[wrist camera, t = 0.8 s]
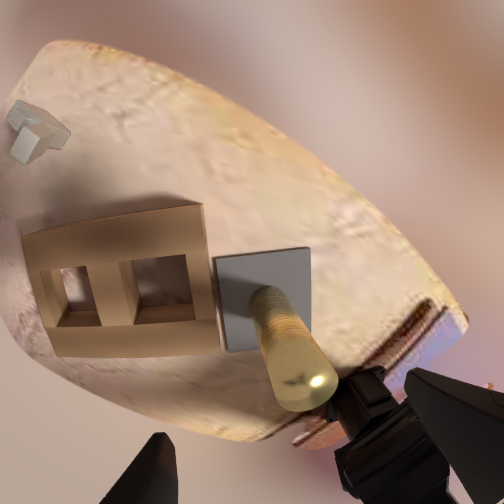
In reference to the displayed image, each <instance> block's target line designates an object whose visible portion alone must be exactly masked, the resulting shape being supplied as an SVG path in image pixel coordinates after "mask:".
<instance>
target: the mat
mask: <svg viewBox="0 0 504 504" xmlns="http://www.w3.org/2000/svg"><path fill="white" fill-rule="evenodd" d="M216 265H217V273H218V281H219V288H220V296H221V303H222V310H223V317H224V324H225V331H226V338H227V344H228V351H229V353H231V352H239V351H247V350H254V349H261V348H260V345H259V341H258V338H257V335H256V331H255V328H254V325H253V321H252V318H251V314H250V311H249V300H250V297H251V296H252V294H253V293H254V292H255V291H256V290H258V289H259V288H262V287H265V286H274V287H277V288H279V289H281V290H282V291H283V292H284V294H285V295H286V297H287V298H288V300H289V301H290V303H291V304H292V306H293V307H294V309H295V310H296V312H297V314H298V315H299V317H300V318H301V320H302V321H303V323H304V324H305V326H306V327H307V329H308V330H309V332H310V333H311V255H310V248H302V249H293V250H284V251H276V252H267V253H258V254H249V255H241V256H232V257H223V258H216Z"/></svg>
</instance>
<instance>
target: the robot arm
mask: <svg viewBox="0 0 504 504" xmlns="http://www.w3.org/2000/svg"><path fill="white" fill-rule="evenodd" d="M385 373H386V369H385V368H384V367H379V368H376V369H373V370H370V371H367V372H364V373H360V374H357V375H354V376H350V377H347V378H343V379H340V380H338V386H337V388H336V390H335V392H334V394H333V395H332V396H331V397H330V398H329V399H328V406H327V413H326V421H327V423H331V422H335V421H338V420H339V422H340V424H341V426H342V427H343V429H344V431H345V433H346V435H347V437H348V438H349V440H350V442H349V443H348V444H346V445H345V446H343V447H341V448H340V449H337V450H335V451H334V453H335V457H336V458H335V460H336V464H337V468H338V472H339V476H340V480H341V484H342V488H343V490H344V491H346V492H349V493H350V494H351V495H352V496H353V497H354V498H356V499H361V501H362V502H363V503H364V504H459V503H458V501H457V500H456V499H455V497H454V496H453V495H452V493H451V492H450V491H449V489H448V485H449V476H450V465H451V467H452V468H453V470H454V471H455V473H456V475H457V476H458V478H459V480H460V481H461V483H462V484H463V486H464V488H465V490H466V491H467V493H468V494H469V496H470V498H471V499H472V501H473V503H474V504H496V503H498V502H499V501H500V500H502V499H503V498H504V393H501V392H497V391H494V390H489V389H486V388H483V387H479V386H475V385H472V384H469V383H465V382H462V381H459V380H456V379H452V378H449V377H446V376H443V375H440V374H437V373H434V372H430V371H427V370H424V369H421V368H418V367H415V368H413V369H411V370H409V371H408V372H407V375H406V379H405V383H404V390H405V392H406V394H407V396H408V397H407V398H405V399H404V401H403V402H402V403H401V404H400V405H399V403H398V402H397V401H396V400H395V398H394V397H393V396H392V393H391V392H390V390H389V389H388V388H387V387H386V386H385V384H384V383H383V382H384V378H385ZM449 464H450V465H449ZM99 504H178V476H177V467H176V455H175V447H174V445H173V443H172V441H171V440H170V438H169V437H168V435H167V434H166V433H165V432H156V433H154V434H153V435H152V436H151V438H150V439H149V440H148V442H147V443H146V444H145V446H144V447H143V448H142V450H141V451H140V452H139V453H138V455H137V456H136V457H135V459H134V460H133V461H132V462H131V464H130V465H129V466H128V468H127V469H126V470H125V472H124V473H123V474H122V475H121V477H120V478H119V479H118V480H117V482H116V483H115V484H114V486H113V487H112V488H111V489H110V491H109V492H108V493H107V494H106V497H104V498H103V499H102V500H101V502H100V503H99ZM503 504H504V503H503Z"/></svg>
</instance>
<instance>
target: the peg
mask: <svg viewBox="0 0 504 504" xmlns="http://www.w3.org/2000/svg"><path fill="white" fill-rule="evenodd" d="M249 311H250V314H251V318H252V321H253V325H254V328H255V331H256V335H257V338H258V341H259V345H260V348H261V351H262V355H263V358H264V361H265V365H266V368H267V371H268V374H269V378H270V381H271V384H272V387H273V391H274V394H275V397H276V400H277V402H278V404H279V405H280V406H281V407H282V408H284V409H286V410H288V411H293V412H302V411H307V410H311V409H314V408H316V407H318V406H320V405H322V404H323V403H325V402H326V401H327V400H328V399H329V398H330V397H331V396H332V395H333V394H334V392H335V390H336V388H337V386H338V376H337V373H336V372H335V370H334V369H333V367H332V365H331V364H330V362H329V361H328V359H327V358H326V356H325V355H324V353H323V352H322V350H321V349H320V347H319V346H318V344H317V343H316V341H315V339H314V338H313V336H312V335H311V333H310V332H309V330H308V329H307V327H306V326H305V324H304V323H303V321H302V320H301V318H300V317H299V315H298V314H297V312H296V310H295V309H294V307H293V306H292V304H291V303H290V301H289V300H288V298H287V297H286V295H285V294H284V292H283V291H282V290H281V289H279V288H277V287H274V286H265V287H262V288H259V289H258V290H256V291H255V292H254V293H253V294H252V296H251V297H250V300H249Z"/></svg>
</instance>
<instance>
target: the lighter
mask: <svg viewBox="0 0 504 504" xmlns="http://www.w3.org/2000/svg"><path fill="white" fill-rule="evenodd" d="M6 121H7V122H8V123H9V124H10V125H11V126H12V127H13V128H14V129H15V130H16V132H17V133H18V134H19V135H18V137H17V139H16V141H15V143H14V144H13V146H12V148H11V150H10V152H9V155H10V156H12V157H13V158H14V159H16V160H17V161H19V162H20V163H22V164H23V165H24V166H26V165H27V164H29V163H30V162H32V161H34V160H35V159H37V158H38V157H40V156H41V155H43V153H44V152H45V150H46V148H52V149H57V150H60V149H61V148H62V147H63V145H64V144H65V142H66V141H67V139H68V138H69V136H70V135H71V131H70V130H68V129H67V128H66V127H65V126H64V125H63V124H61V123H60V122H59V121H58V120H57V119H56V118H55V117H53V116H52V115H51V114H50V113H49V112H48V111H46V110H44V109H41V108H39V107H36V106H34V105H31V104H29V103H26V102H23V101H21V100H17V101H16V102H15V104H14V105H13V107H12V109H11V111H10V112H9V114H8V116H7V118H6Z"/></svg>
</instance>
